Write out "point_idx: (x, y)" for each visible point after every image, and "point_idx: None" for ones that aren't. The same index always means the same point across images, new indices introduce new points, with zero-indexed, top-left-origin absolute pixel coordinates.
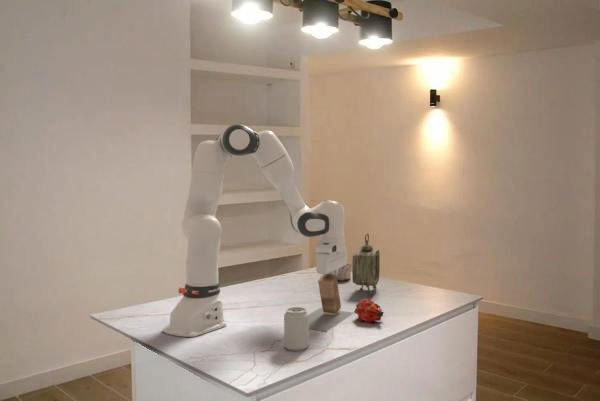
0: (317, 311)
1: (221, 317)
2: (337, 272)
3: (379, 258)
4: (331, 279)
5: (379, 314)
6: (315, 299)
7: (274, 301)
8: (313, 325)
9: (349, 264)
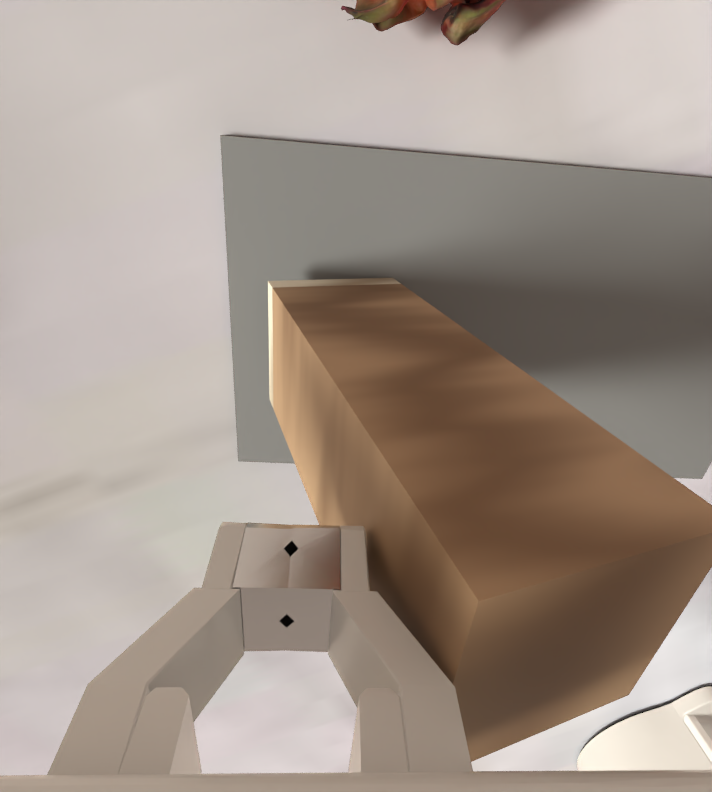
0: None
1: (709, 739)
2: (136, 663)
3: None
4: (651, 568)
5: None
6: (35, 559)
7: (230, 693)
8: (696, 345)
9: None
